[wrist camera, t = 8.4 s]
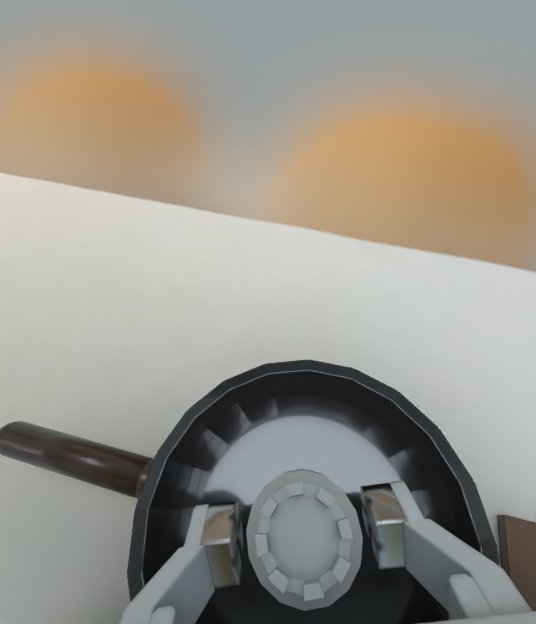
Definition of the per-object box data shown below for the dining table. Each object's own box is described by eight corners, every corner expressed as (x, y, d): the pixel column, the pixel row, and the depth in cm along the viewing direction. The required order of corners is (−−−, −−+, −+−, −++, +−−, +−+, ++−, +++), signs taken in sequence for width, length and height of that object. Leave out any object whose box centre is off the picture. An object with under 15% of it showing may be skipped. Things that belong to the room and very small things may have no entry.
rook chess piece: (304, 612, 14) (305, 719, 7) (237, 518, 16) (184, 529, 9) (373, 526, 15) (431, 544, 8) (303, 449, 17) (301, 412, 10)
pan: (119, 656, 14) (57, 706, 10) (218, 366, 20) (200, 337, 17) (458, 804, 11) (528, 938, 8) (450, 415, 17) (487, 393, 14)
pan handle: (4, 454, 16) (-23, 449, 15) (23, 421, 17) (-1, 414, 16) (162, 504, 15) (148, 504, 13) (176, 465, 15) (163, 461, 14)
